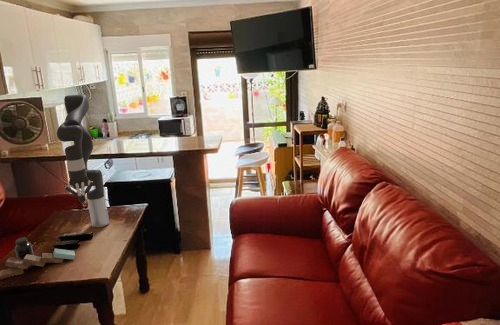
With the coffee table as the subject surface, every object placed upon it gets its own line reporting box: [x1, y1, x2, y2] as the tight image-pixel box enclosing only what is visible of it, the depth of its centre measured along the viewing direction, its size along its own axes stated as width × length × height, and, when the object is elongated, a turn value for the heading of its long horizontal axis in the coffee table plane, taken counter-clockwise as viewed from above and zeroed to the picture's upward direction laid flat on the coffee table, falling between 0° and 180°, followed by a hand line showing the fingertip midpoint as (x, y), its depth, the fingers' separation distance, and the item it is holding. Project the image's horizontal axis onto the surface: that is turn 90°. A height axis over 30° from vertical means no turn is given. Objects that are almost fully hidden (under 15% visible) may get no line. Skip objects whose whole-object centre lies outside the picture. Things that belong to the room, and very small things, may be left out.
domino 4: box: [40, 252, 65, 264], centre depth 173 cm, size 2×5×9 cm
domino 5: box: [52, 248, 76, 260], centre depth 176 cm, size 2×5×9 cm
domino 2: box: [0, 267, 25, 280], centre depth 166 cm, size 2×5×9 cm
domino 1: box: [4, 256, 31, 270], centre depth 168 cm, size 2×5×9 cm
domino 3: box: [23, 254, 47, 268], centre depth 171 cm, size 2×5×9 cm
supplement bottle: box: [14, 236, 35, 259], centre depth 174 cm, size 7×7×12 cm
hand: (82, 202), depth 175 cm, fingers closed
